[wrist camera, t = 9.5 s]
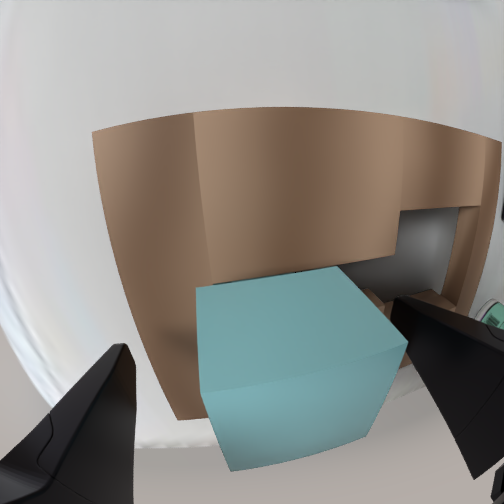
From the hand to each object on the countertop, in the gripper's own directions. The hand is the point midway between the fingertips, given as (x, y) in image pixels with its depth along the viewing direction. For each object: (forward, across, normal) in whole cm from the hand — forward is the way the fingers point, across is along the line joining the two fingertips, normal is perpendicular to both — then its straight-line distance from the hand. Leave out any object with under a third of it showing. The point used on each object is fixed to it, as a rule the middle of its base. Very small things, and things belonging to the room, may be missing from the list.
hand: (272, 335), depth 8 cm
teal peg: (+6, 0, 0) cm, 6 cm away
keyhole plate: (+6, -4, 0) cm, 7 cm away
